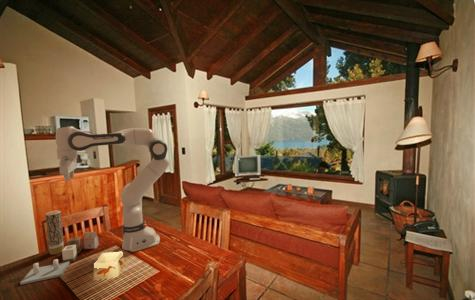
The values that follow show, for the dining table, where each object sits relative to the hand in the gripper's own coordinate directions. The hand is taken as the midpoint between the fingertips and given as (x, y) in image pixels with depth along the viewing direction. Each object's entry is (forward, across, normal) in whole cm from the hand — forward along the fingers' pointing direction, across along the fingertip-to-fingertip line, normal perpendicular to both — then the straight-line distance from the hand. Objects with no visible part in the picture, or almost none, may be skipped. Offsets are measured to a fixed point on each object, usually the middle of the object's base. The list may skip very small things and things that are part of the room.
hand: (69, 179), depth 120 cm
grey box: (+46, +7, -6) cm, 47 cm away
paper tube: (+46, +10, +11) cm, 48 cm away
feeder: (+46, +5, +2) cm, 46 cm away
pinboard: (+46, -12, +10) cm, 48 cm away
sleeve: (+46, -3, +2) cm, 46 cm away
